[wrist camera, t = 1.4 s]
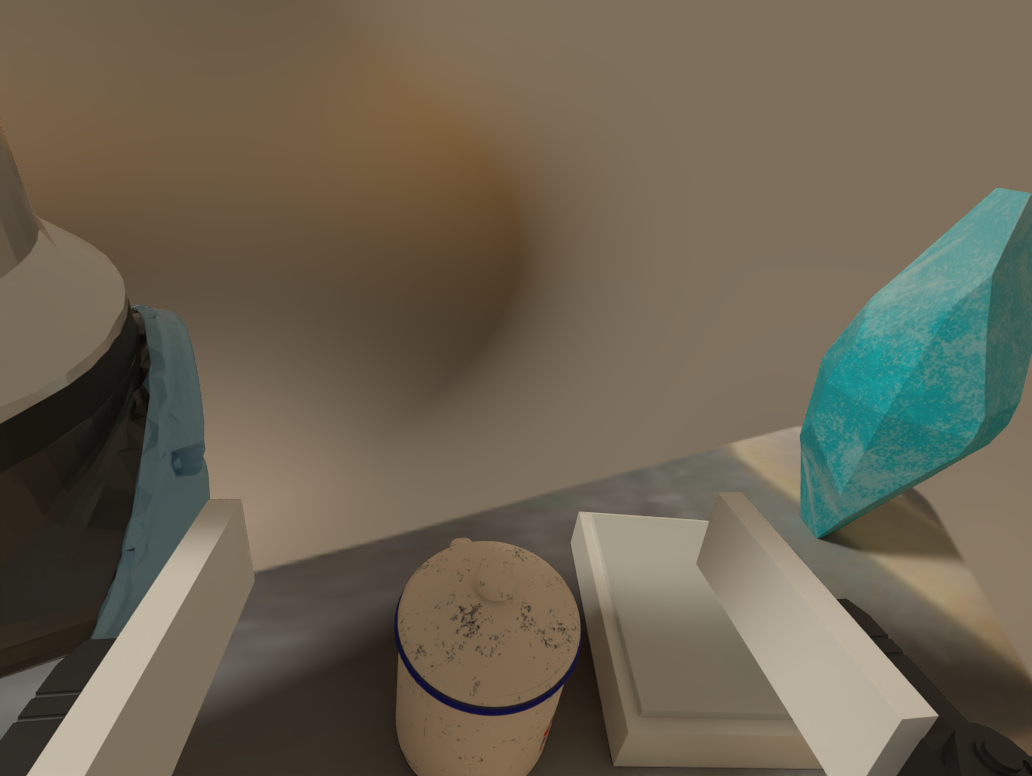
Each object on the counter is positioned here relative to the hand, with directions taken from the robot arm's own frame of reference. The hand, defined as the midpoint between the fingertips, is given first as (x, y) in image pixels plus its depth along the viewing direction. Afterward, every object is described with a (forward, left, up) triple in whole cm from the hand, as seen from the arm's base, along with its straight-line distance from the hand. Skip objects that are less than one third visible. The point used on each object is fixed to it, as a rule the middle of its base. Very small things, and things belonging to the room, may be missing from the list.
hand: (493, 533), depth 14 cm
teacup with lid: (+1, +7, -20) cm, 21 cm away
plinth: (+17, +11, -20) cm, 28 cm away
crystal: (+34, +23, -20) cm, 46 cm away
